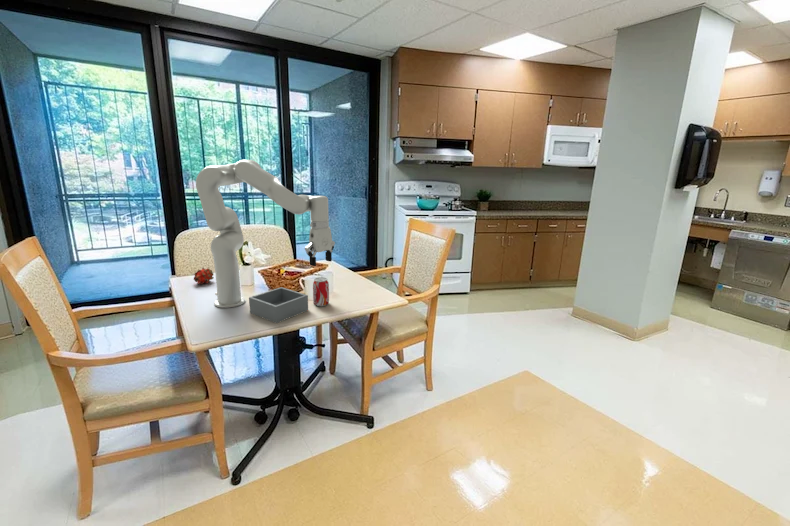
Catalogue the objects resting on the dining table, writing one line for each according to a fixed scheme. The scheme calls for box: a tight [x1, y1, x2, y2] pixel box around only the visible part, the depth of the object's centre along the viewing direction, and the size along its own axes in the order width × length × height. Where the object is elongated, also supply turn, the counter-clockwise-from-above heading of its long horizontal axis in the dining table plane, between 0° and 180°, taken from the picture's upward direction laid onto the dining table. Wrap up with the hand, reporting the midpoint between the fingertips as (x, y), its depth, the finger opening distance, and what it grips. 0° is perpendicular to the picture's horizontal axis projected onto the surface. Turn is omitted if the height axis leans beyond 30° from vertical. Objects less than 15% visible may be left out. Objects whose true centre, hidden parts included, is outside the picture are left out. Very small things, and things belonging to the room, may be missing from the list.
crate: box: [248, 286, 309, 324], centre depth 156 cm, size 17×17×7 cm
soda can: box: [312, 277, 330, 307], centre depth 165 cm, size 7×7×12 cm
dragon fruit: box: [193, 267, 215, 285], centre depth 188 cm, size 8×8×12 cm
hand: (321, 263), depth 161 cm, fingers open, 9 cm apart
